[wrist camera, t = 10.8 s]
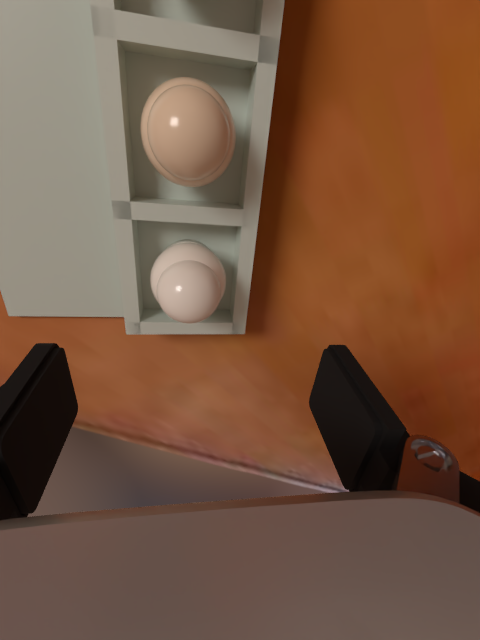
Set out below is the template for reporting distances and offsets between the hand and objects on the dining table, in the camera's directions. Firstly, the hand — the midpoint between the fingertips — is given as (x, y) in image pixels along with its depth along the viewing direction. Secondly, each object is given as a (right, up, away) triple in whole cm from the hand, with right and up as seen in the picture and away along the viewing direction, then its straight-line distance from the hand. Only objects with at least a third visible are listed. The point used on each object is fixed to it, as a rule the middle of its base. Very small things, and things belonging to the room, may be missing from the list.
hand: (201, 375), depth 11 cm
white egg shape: (-2, +6, +11) cm, 12 cm away
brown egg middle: (-2, +13, +7) cm, 15 cm away
